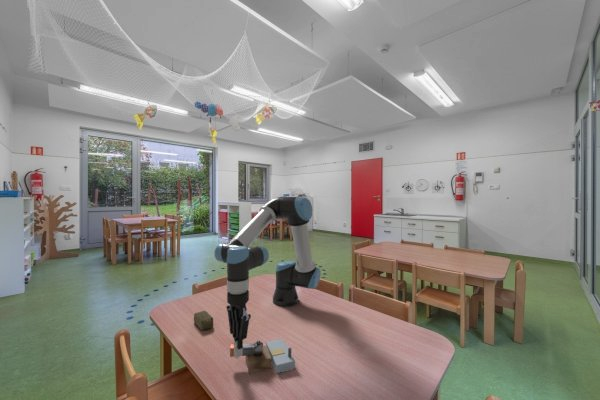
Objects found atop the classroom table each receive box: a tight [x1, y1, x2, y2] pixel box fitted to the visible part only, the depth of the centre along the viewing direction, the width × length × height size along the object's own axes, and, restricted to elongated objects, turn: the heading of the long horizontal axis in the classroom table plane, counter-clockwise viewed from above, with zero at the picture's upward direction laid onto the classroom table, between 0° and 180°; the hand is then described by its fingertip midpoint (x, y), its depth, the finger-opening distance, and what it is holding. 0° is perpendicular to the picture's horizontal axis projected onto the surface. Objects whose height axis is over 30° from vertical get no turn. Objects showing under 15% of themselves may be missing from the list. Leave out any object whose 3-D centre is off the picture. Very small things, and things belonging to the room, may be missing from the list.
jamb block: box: [244, 345, 272, 375], centre depth 94 cm, size 8×8×4 cm
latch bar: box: [229, 340, 264, 358], centre depth 93 cm, size 12×4×4 cm, turn 96°
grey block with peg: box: [265, 338, 296, 374], centre depth 97 cm, size 7×15×6 cm, turn 21°
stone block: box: [193, 310, 214, 331], centre depth 122 cm, size 6×12×5 cm, turn 42°
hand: (238, 356), depth 91 cm, fingers closed
